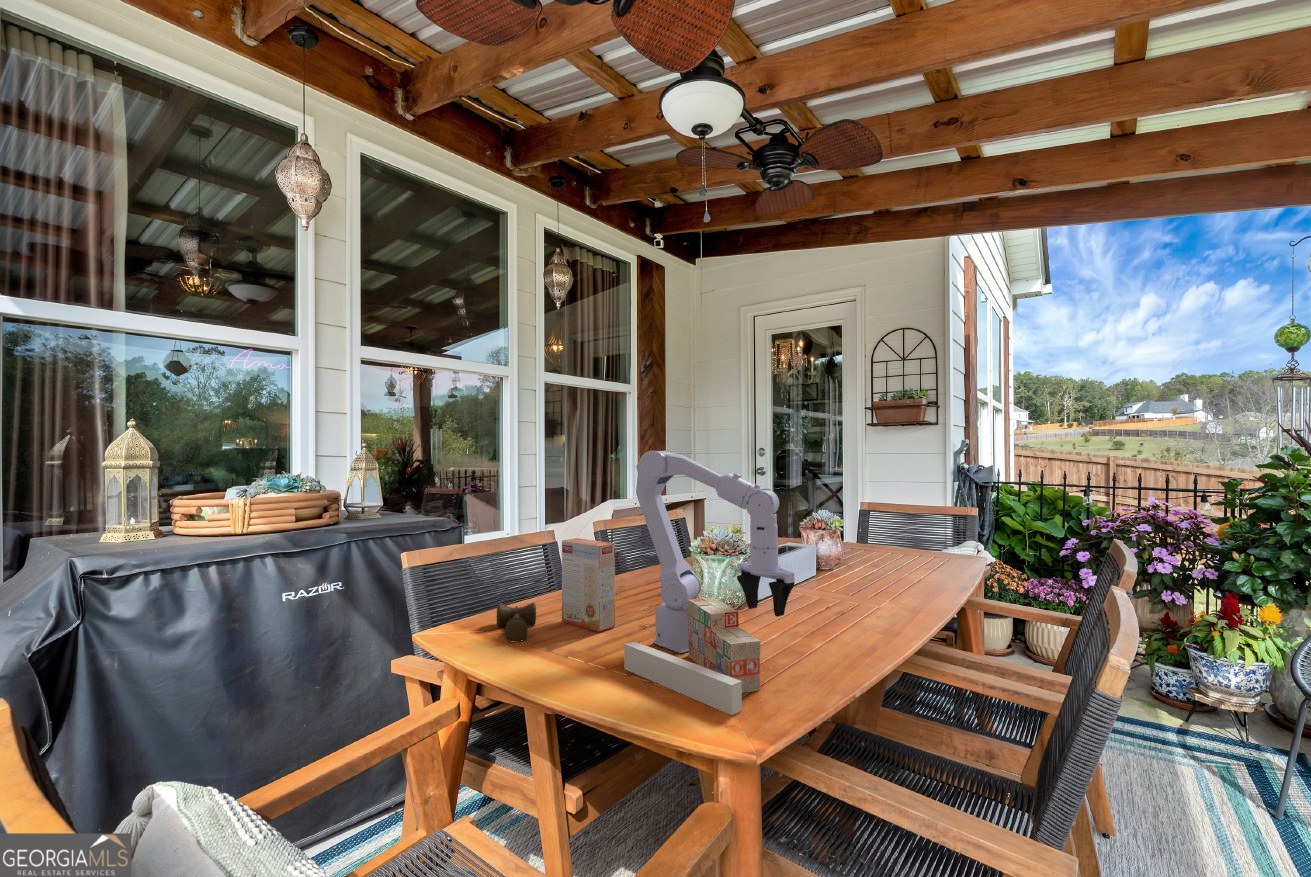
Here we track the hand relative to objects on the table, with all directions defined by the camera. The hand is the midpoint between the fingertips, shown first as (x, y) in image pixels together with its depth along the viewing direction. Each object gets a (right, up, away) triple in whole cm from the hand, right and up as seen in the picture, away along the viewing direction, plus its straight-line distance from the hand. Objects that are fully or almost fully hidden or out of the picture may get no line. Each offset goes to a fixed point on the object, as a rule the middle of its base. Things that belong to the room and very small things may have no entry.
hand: (765, 611), depth 126 cm
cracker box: (-40, -10, +23) cm, 48 cm away
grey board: (-19, -10, -16) cm, 26 cm away
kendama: (-57, -11, +20) cm, 61 cm away
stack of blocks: (-10, -10, -8) cm, 16 cm away
